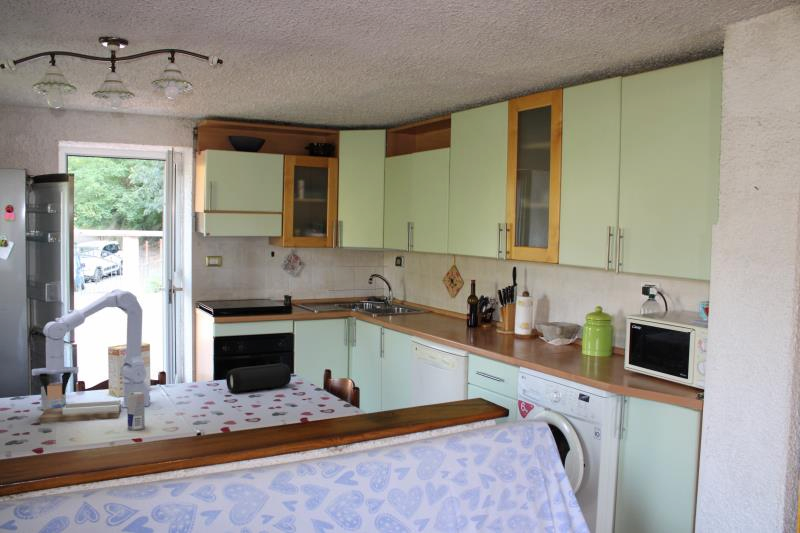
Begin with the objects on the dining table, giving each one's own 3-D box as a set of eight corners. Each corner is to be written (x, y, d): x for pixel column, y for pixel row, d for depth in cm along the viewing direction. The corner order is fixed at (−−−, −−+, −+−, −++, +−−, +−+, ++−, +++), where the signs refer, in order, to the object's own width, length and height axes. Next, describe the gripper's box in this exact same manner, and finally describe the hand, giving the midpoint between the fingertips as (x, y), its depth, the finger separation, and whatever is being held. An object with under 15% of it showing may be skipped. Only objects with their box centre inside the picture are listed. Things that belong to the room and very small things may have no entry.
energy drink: (130, 426, 234) (130, 391, 233) (146, 425, 234) (146, 390, 234) (125, 430, 228) (125, 394, 228) (142, 430, 229) (141, 394, 228)
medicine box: (51, 410, 251) (51, 387, 251) (41, 410, 252) (40, 386, 252) (66, 405, 259) (65, 382, 259) (55, 404, 260) (55, 382, 259)
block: (63, 395, 245) (63, 382, 244) (61, 398, 240) (61, 385, 240) (49, 395, 243) (49, 383, 243) (47, 399, 239) (47, 386, 239)
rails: (120, 405, 252) (120, 400, 252) (118, 411, 244) (118, 405, 244) (66, 408, 247) (66, 403, 247) (62, 414, 239) (62, 409, 239)
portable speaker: (282, 383, 300) (282, 360, 300) (292, 388, 292) (292, 364, 291) (225, 390, 286) (225, 367, 285) (234, 395, 278) (234, 371, 277)
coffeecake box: (141, 387, 288) (140, 341, 287) (151, 390, 284) (150, 343, 283) (107, 394, 276) (107, 346, 275) (117, 397, 272) (117, 348, 271)
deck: (121, 409, 254) (120, 404, 254) (117, 418, 243) (117, 412, 243) (46, 414, 247) (45, 408, 247) (39, 423, 235) (39, 417, 235)
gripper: (29, 359, 235) (30, 398, 236) (75, 357, 239) (76, 395, 240) (33, 355, 242) (34, 393, 243) (79, 353, 246) (79, 391, 247)
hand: (55, 394), depth 242 cm, fingers closed on block, 4 cm apart
